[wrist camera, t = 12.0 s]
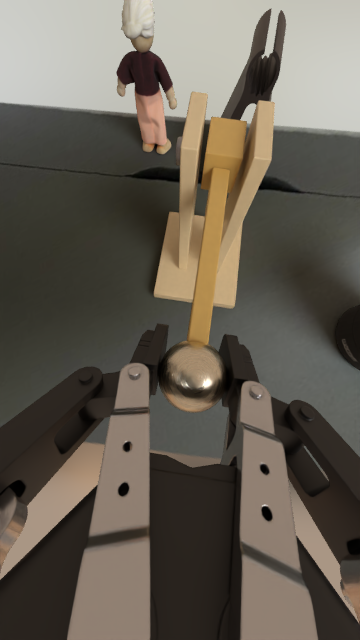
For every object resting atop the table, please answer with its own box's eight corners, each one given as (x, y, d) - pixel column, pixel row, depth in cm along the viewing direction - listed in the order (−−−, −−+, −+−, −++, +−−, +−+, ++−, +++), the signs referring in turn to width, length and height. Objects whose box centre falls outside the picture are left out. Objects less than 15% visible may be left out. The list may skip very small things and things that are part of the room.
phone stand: (201, 175, 28) (218, 41, 16) (208, 145, 29) (229, 1, 18) (260, 186, 28) (321, 58, 16) (264, 155, 29) (324, 16, 17)
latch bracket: (231, 308, 24) (319, 226, 9) (154, 297, 24) (119, 198, 9) (239, 227, 26) (317, 63, 12) (169, 217, 26) (160, 44, 12)
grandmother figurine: (178, 137, 29) (178, -24, 17) (176, 156, 29) (176, 1, 16) (129, 135, 29) (95, -29, 17) (127, 154, 29) (88, -4, 16)
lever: (215, 406, 11) (233, 431, 8) (156, 396, 11) (146, 416, 8) (241, 170, 14) (263, 109, 11) (195, 163, 14) (201, 101, 11)
